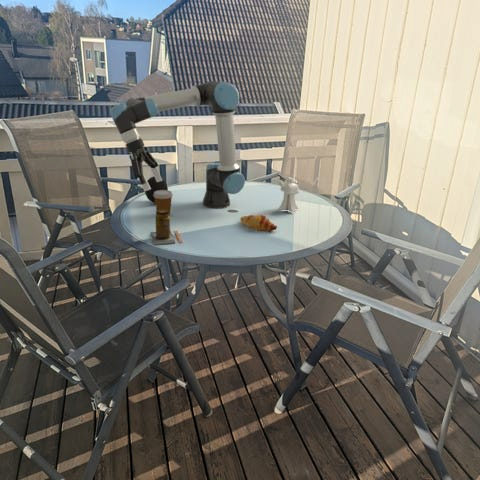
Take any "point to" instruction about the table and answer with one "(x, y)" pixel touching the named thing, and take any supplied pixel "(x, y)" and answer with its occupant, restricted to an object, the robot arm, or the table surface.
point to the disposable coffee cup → (163, 199)
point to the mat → (162, 241)
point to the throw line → (178, 237)
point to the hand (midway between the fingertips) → (154, 185)
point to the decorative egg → (155, 188)
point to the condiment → (162, 226)
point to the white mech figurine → (289, 194)
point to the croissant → (258, 222)
